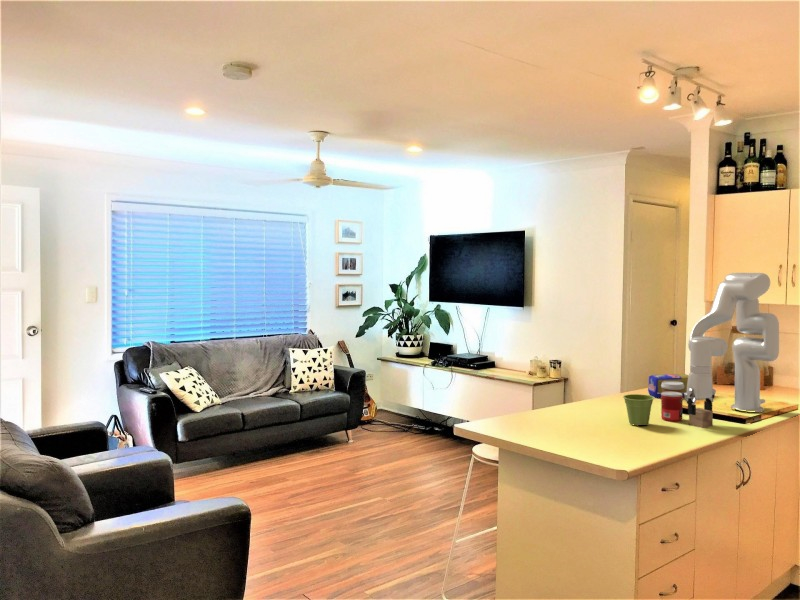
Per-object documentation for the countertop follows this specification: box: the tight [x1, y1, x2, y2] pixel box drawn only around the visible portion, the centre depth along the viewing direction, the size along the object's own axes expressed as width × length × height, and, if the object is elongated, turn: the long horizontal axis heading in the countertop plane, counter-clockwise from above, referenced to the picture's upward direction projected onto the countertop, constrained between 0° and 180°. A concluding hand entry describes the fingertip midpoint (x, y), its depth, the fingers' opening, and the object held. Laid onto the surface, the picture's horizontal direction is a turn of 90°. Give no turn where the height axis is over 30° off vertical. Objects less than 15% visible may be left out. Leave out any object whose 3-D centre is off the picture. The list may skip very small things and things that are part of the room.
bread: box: [647, 373, 689, 399], centre depth 303 cm, size 10×25×10 cm, turn 93°
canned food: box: [660, 392, 683, 423], centre depth 260 cm, size 8×8×11 cm
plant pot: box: [622, 393, 655, 426], centre depth 254 cm, size 12×12×11 cm
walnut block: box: [688, 407, 714, 429], centre depth 250 cm, size 6×6×6 cm
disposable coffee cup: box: [661, 381, 685, 395], centre depth 276 cm, size 10×10×12 cm
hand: (699, 412), depth 250 cm, fingers open, 9 cm apart
